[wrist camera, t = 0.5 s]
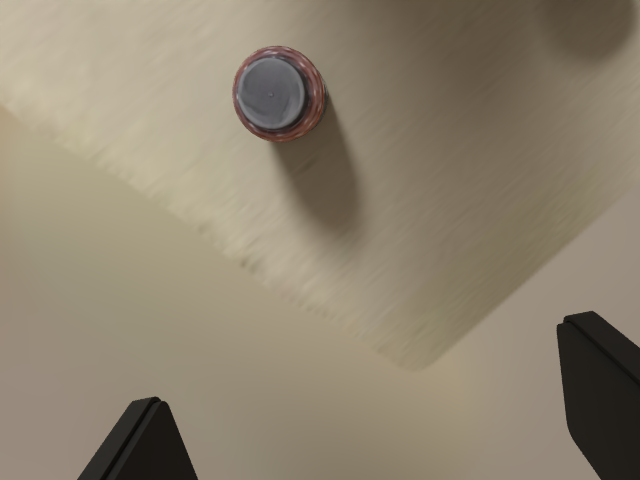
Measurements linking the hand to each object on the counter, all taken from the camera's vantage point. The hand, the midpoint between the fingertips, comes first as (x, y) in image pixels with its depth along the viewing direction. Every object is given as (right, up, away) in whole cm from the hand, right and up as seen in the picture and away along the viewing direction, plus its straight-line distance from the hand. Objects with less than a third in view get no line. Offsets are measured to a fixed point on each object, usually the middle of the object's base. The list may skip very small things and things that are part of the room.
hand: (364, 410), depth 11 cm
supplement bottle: (-3, +16, +26) cm, 31 cm away
